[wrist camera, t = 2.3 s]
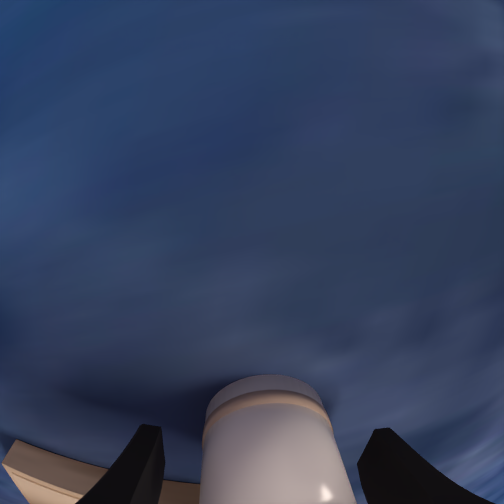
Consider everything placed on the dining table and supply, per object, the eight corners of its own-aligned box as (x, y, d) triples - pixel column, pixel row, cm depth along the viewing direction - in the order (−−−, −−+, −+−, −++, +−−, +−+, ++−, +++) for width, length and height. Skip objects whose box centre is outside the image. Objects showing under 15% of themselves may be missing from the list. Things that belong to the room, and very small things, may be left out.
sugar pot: (309, 452, 12) (333, 548, 7) (203, 451, 11) (197, 553, 7) (336, 373, 11) (386, 483, 6) (206, 368, 10) (194, 493, 5)
